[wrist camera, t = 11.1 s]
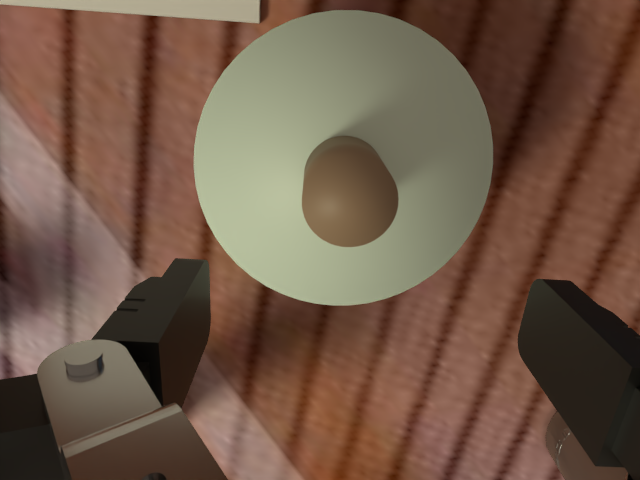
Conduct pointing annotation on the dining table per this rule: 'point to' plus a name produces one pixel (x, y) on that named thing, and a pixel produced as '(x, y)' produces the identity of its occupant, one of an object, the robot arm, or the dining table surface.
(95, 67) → the dining table surface
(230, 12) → the mat
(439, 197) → the lid
